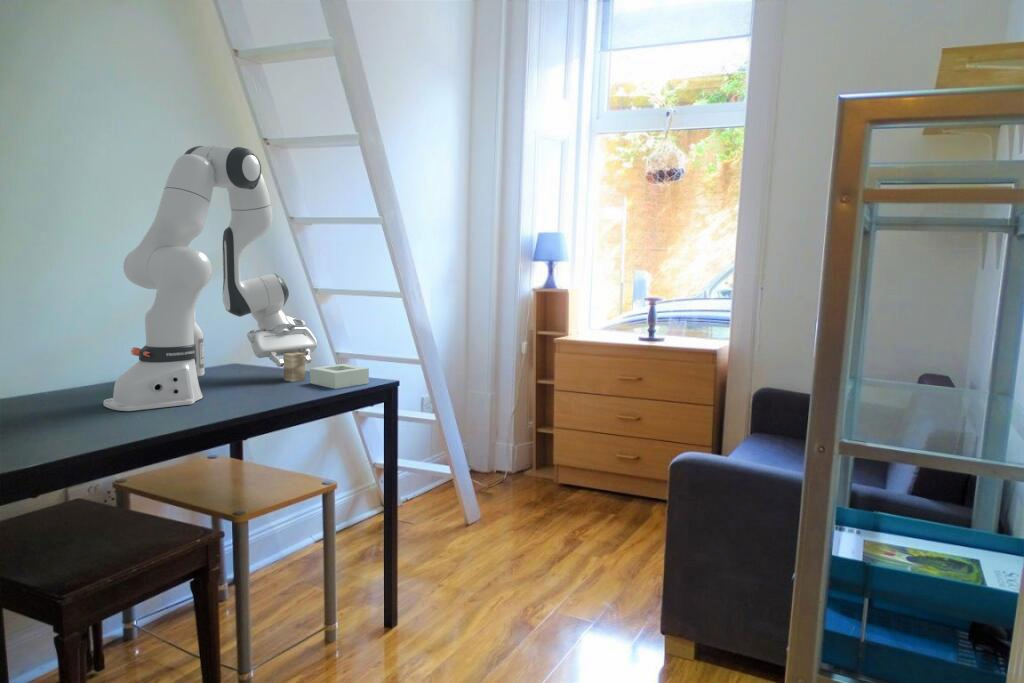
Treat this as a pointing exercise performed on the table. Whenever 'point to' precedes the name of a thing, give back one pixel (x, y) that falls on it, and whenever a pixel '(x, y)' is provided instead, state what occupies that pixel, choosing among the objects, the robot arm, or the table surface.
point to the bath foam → (199, 349)
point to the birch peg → (294, 366)
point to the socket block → (339, 376)
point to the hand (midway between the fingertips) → (295, 363)
